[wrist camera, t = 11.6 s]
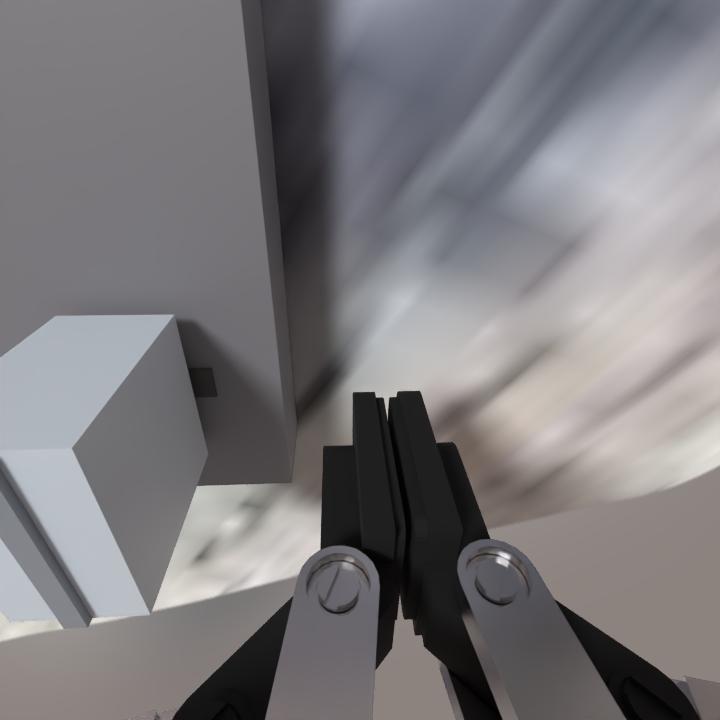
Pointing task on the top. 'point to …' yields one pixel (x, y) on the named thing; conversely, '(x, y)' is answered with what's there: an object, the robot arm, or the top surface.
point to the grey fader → (94, 466)
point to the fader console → (152, 200)
